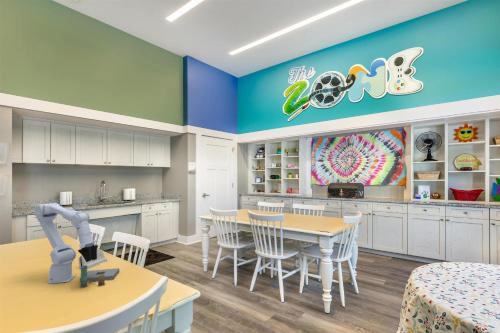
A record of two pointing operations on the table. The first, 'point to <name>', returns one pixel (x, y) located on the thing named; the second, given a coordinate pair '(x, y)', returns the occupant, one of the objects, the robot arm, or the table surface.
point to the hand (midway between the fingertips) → (91, 260)
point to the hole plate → (94, 274)
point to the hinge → (93, 263)
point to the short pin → (101, 280)
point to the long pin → (83, 276)
